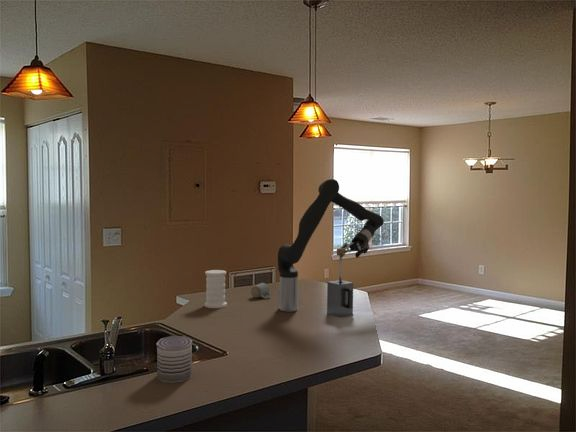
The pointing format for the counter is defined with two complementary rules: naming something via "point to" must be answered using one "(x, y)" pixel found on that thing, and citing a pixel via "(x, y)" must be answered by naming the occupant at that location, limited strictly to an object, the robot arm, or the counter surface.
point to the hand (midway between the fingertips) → (348, 255)
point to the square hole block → (340, 298)
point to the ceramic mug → (260, 291)
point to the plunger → (340, 262)
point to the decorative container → (215, 289)
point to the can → (174, 359)
